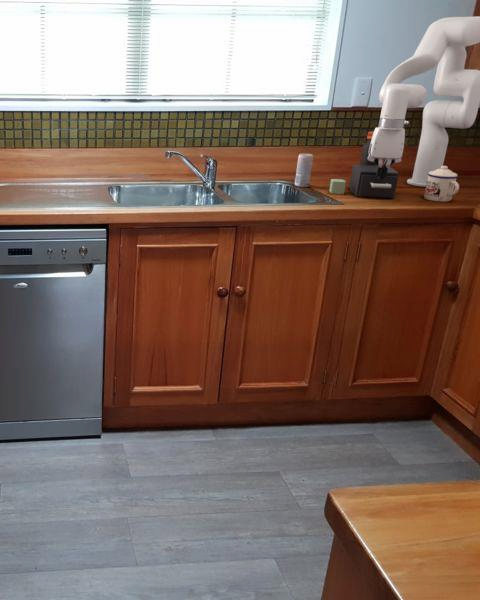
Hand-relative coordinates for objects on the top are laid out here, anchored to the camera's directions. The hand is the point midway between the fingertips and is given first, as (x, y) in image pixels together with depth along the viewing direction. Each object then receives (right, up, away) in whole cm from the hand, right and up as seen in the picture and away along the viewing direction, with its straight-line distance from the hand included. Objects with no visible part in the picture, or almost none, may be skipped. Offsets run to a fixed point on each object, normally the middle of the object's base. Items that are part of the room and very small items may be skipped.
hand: (380, 178), depth 211 cm
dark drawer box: (+2, -3, +12) cm, 13 cm away
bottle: (+7, +2, +27) cm, 28 cm away
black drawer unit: (+1, -4, +8) cm, 9 cm away
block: (-9, -2, +14) cm, 17 cm away
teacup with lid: (+23, -7, +3) cm, 24 cm away
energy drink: (-18, +2, +25) cm, 31 cm away
